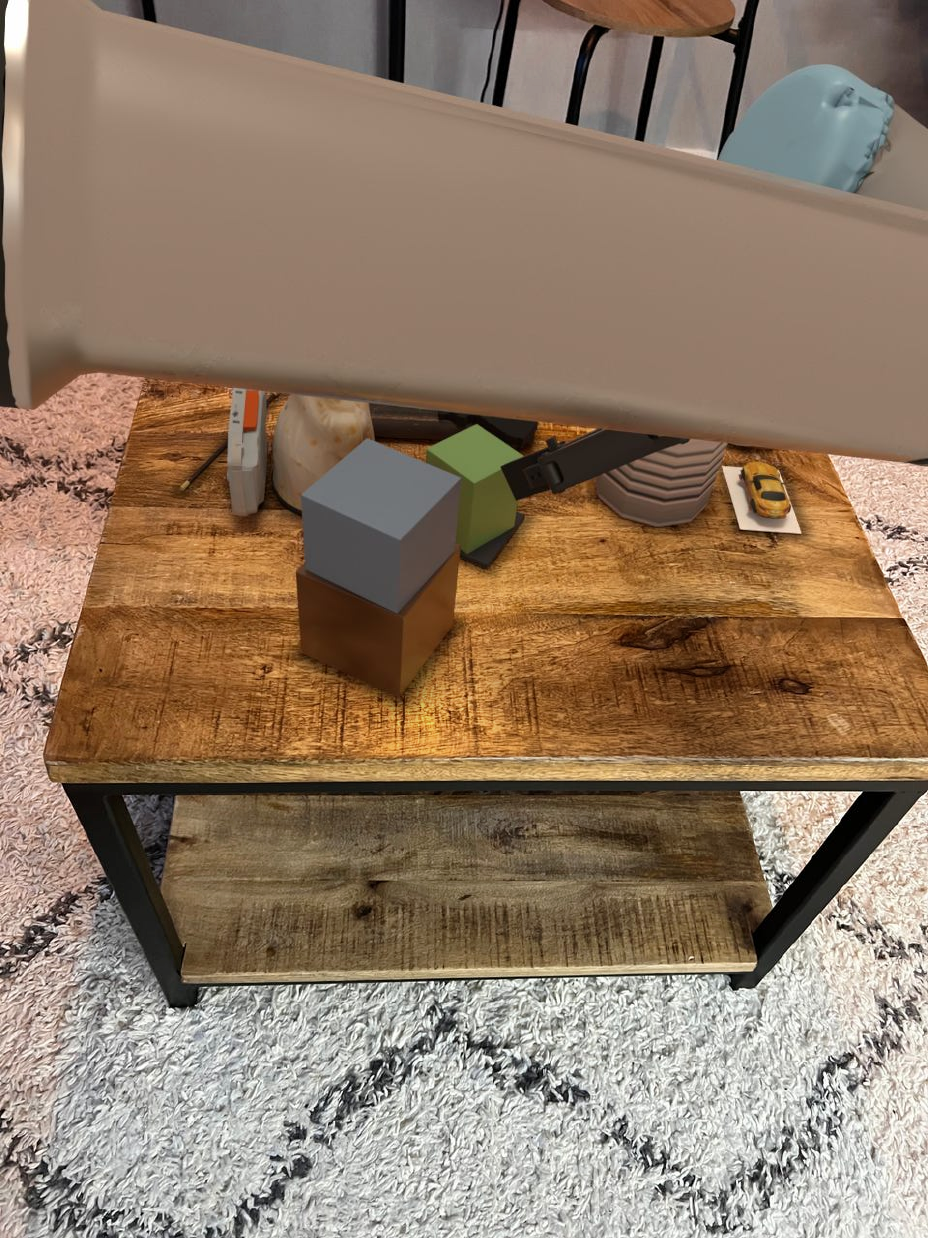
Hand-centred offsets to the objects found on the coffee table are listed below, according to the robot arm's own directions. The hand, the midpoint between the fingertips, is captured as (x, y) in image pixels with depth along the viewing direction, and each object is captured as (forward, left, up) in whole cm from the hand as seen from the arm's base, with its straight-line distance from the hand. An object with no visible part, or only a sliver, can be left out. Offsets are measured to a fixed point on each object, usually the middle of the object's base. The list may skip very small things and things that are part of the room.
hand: (574, 447), depth 72 cm
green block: (-10, +4, -14) cm, 18 cm away
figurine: (-24, +3, -15) cm, 29 cm away
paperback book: (-23, +20, -15) cm, 34 cm away
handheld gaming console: (-30, -1, -15) cm, 34 cm away
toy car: (+13, +23, -15) cm, 30 cm away
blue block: (-9, -13, -6) cm, 17 cm away
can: (+3, +18, -15) cm, 24 cm away
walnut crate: (-10, -12, -15) cm, 22 cm away
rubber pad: (-10, +4, -15) cm, 18 cm away
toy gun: (-9, +20, -12) cm, 25 cm away
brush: (-37, +19, -15) cm, 44 cm away
